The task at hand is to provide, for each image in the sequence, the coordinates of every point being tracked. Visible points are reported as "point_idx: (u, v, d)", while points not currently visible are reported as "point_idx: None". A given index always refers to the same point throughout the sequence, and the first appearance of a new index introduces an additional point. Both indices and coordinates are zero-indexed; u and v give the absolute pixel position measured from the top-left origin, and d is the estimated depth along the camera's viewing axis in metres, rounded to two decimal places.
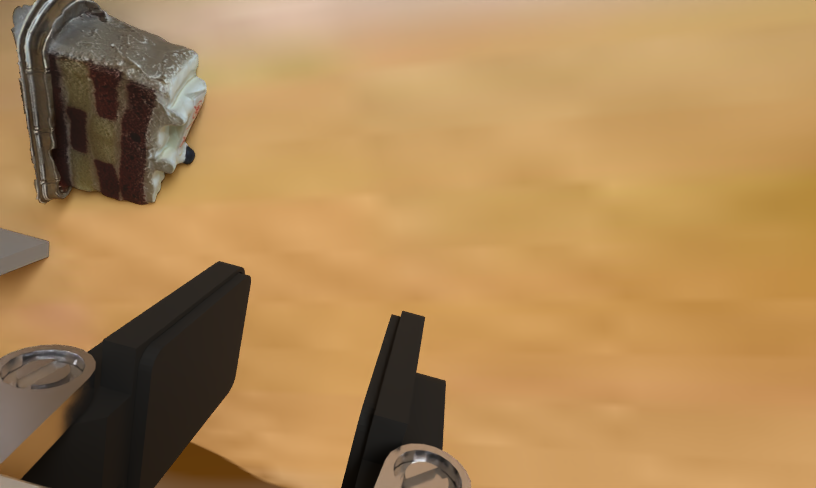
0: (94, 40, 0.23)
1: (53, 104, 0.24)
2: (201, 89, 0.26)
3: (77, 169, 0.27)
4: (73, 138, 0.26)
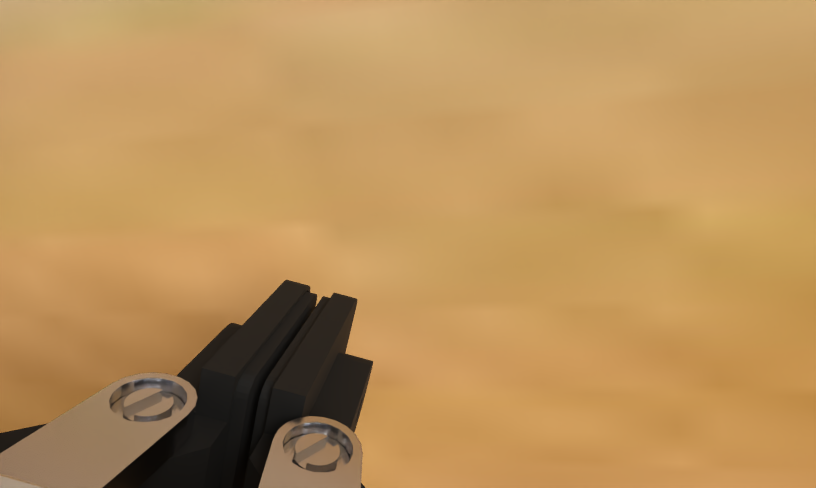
0: None
1: None
2: None
3: None
4: None
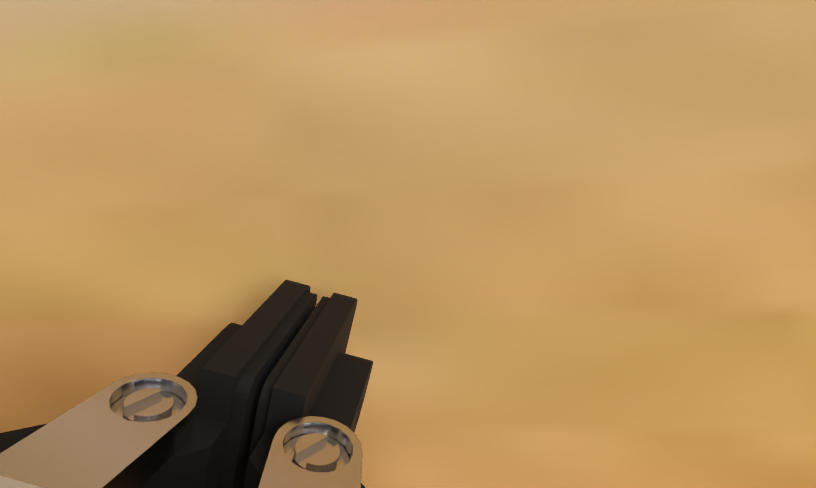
0: None
1: None
2: None
3: None
4: None
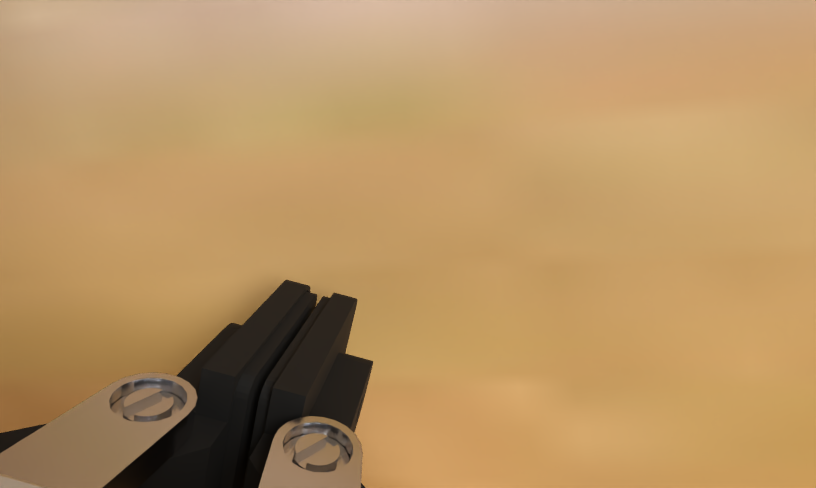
0: None
1: None
2: None
3: None
4: None
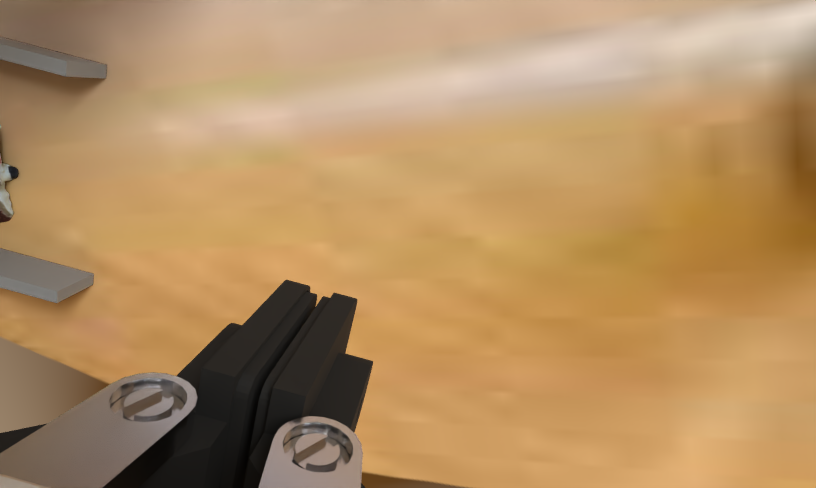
0: None
1: None
2: None
3: None
4: None
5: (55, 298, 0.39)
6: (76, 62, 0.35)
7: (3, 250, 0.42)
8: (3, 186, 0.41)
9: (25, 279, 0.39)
